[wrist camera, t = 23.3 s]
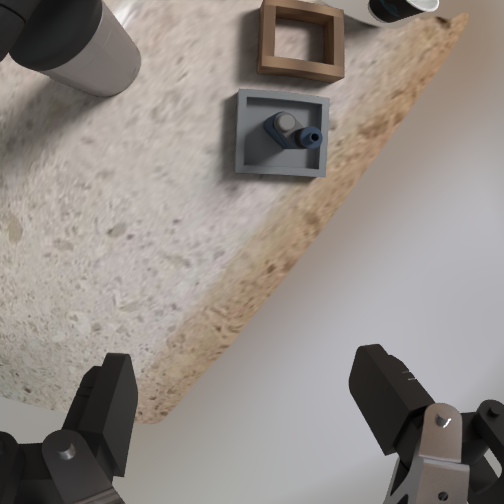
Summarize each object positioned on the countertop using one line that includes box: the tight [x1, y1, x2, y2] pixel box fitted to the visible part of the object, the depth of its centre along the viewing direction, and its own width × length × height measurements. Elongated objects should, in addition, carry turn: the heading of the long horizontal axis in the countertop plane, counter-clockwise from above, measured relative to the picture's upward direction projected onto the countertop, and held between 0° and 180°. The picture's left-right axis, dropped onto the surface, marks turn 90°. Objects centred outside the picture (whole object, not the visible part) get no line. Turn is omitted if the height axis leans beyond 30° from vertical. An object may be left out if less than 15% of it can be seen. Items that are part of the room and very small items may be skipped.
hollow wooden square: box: [257, 0, 344, 83], centre depth 34 cm, size 11×11×4 cm
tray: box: [234, 89, 330, 177], centre depth 39 cm, size 12×11×3 cm
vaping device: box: [263, 111, 323, 150], centre depth 34 cm, size 3×5×12 cm, turn 45°
